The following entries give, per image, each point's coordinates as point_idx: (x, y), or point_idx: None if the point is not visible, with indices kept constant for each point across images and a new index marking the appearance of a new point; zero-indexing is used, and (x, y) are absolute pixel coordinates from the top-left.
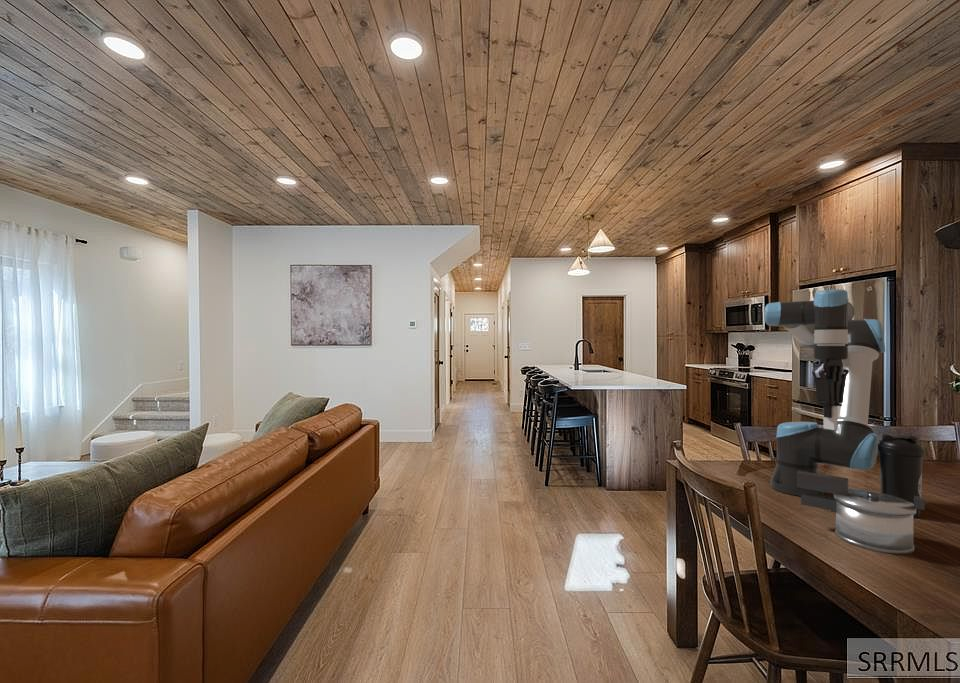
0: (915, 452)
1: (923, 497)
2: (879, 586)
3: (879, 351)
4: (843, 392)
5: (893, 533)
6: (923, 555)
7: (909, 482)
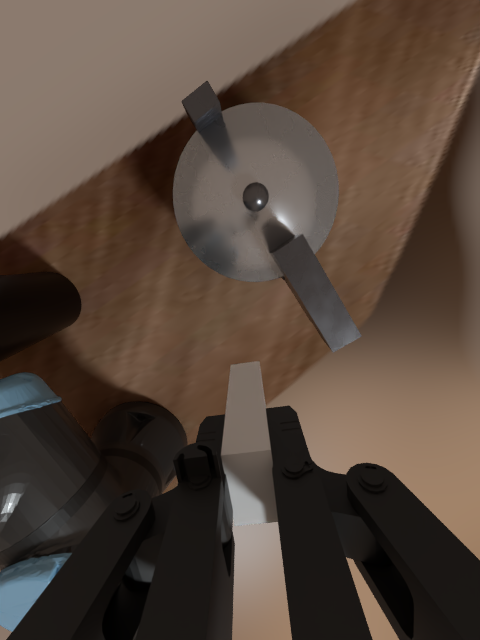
0: None
1: (186, 99)
2: (450, 57)
3: None
4: (28, 636)
5: None
6: None
7: (5, 284)
